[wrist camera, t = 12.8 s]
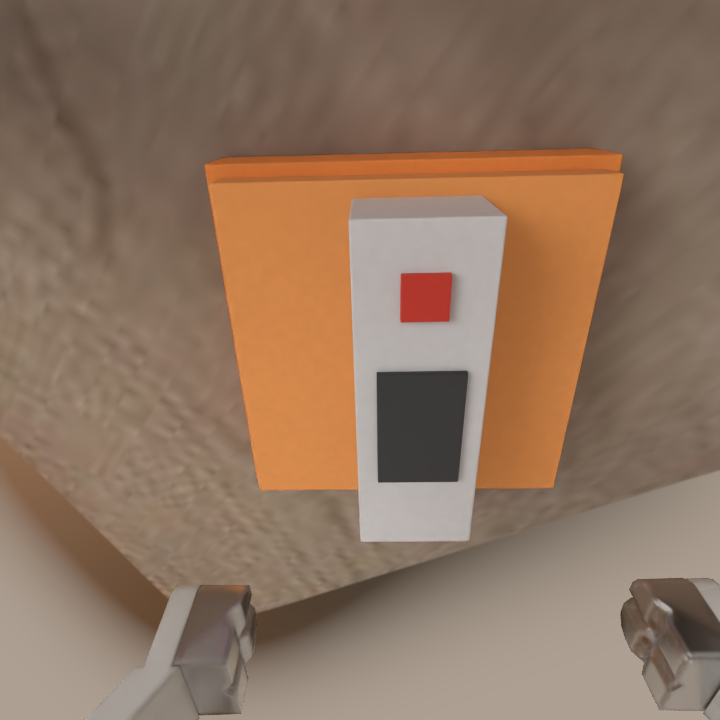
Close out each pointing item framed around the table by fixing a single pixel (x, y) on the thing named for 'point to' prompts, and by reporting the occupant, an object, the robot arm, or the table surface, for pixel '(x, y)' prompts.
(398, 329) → the remote
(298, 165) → the folded cloth
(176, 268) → the table surface
